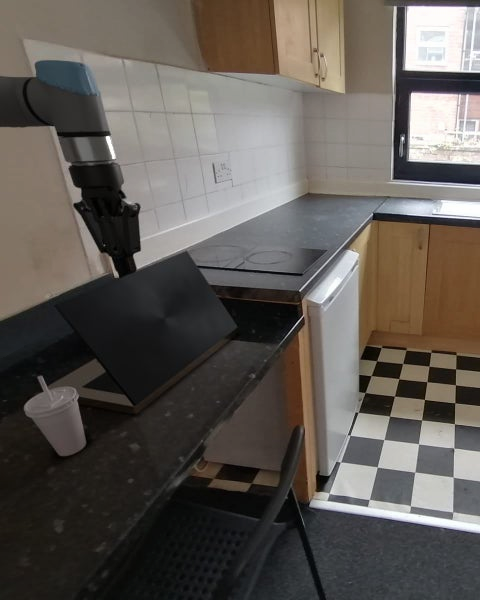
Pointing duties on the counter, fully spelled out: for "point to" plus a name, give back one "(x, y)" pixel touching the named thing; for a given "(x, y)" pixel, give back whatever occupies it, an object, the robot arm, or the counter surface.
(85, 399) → the laptop
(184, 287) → the laptop screen
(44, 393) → the smoothie
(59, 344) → the counter surface
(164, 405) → the counter surface
